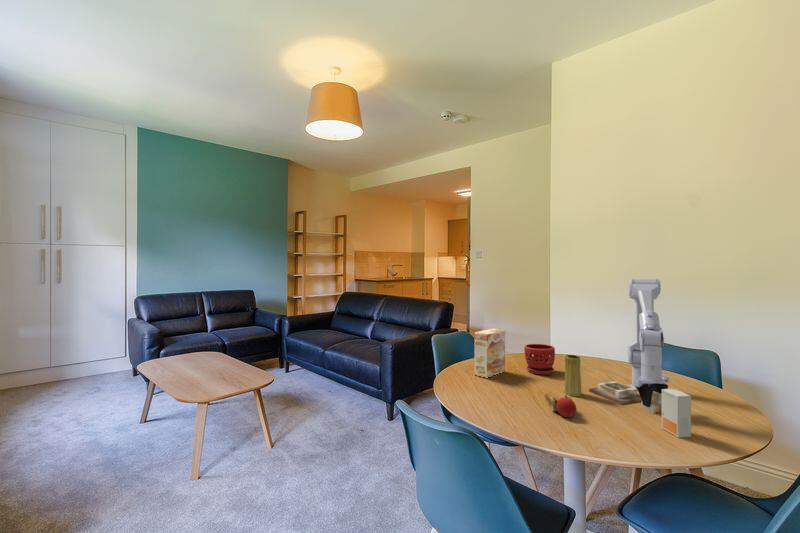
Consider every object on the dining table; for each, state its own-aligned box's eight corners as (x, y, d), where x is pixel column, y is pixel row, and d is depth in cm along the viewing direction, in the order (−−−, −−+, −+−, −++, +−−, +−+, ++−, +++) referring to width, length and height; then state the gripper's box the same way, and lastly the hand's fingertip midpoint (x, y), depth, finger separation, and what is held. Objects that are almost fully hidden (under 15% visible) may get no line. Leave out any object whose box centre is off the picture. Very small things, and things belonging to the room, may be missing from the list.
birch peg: (649, 407, 124) (649, 389, 124) (661, 411, 120) (661, 393, 120) (641, 408, 122) (641, 391, 122) (652, 413, 119) (652, 395, 118)
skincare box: (660, 428, 108) (660, 388, 108) (673, 427, 108) (673, 388, 108) (678, 438, 102) (678, 396, 102) (691, 437, 102) (691, 395, 102)
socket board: (612, 387, 143) (612, 378, 143) (646, 400, 130) (646, 390, 130) (589, 391, 139) (589, 382, 139) (621, 404, 126) (621, 394, 126)
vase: (583, 397, 133) (583, 358, 133) (566, 396, 135) (566, 358, 134) (579, 391, 139) (579, 354, 139) (562, 390, 140) (562, 354, 140)
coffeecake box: (487, 379, 155) (487, 334, 154) (473, 375, 160) (473, 332, 160) (505, 372, 165) (505, 329, 164) (492, 368, 170) (492, 327, 170)
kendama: (536, 402, 132) (556, 416, 114) (538, 385, 133) (558, 396, 115) (557, 406, 131) (580, 421, 114) (559, 389, 132) (583, 401, 114)
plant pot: (557, 370, 167) (557, 344, 167) (552, 378, 156) (552, 350, 156) (528, 366, 174) (527, 341, 174) (521, 373, 163) (521, 347, 163)
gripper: (647, 370, 115) (647, 412, 115) (678, 366, 119) (678, 406, 120) (626, 364, 122) (627, 404, 122) (657, 360, 126) (657, 399, 126)
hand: (651, 405), depth 121 cm, fingers closed on birch peg, 4 cm apart
